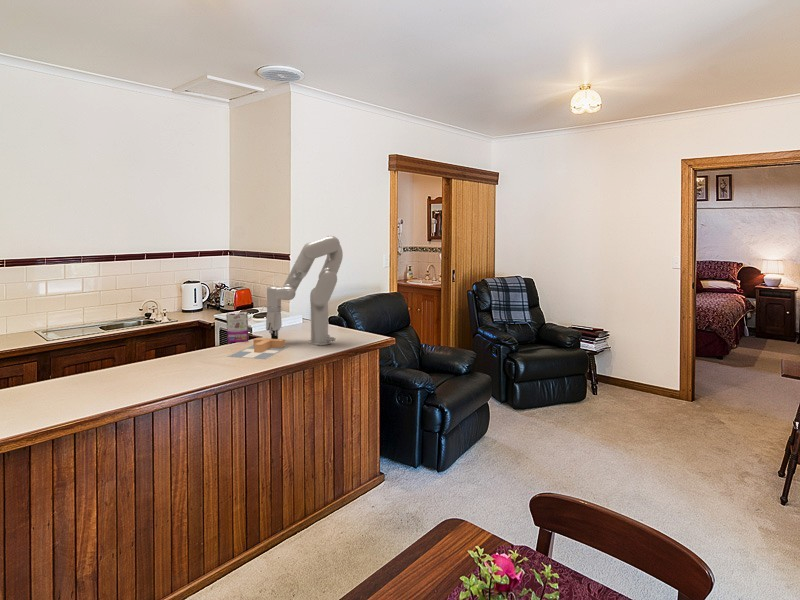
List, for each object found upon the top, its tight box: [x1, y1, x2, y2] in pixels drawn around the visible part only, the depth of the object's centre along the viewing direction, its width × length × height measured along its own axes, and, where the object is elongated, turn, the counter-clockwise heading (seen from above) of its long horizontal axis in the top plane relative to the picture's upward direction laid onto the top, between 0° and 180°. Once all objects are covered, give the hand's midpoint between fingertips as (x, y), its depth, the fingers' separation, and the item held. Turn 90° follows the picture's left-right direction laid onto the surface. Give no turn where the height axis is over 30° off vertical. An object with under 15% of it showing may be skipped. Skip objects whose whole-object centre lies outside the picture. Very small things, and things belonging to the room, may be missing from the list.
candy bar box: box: [225, 311, 249, 344], centre depth 288 cm, size 11×5×16 cm, turn 105°
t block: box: [252, 337, 286, 353], centre depth 270 cm, size 16×15×4 cm
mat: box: [227, 344, 291, 360], centre depth 266 cm, size 20×30×1 cm, turn 169°
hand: (274, 342), depth 283 cm, fingers closed
